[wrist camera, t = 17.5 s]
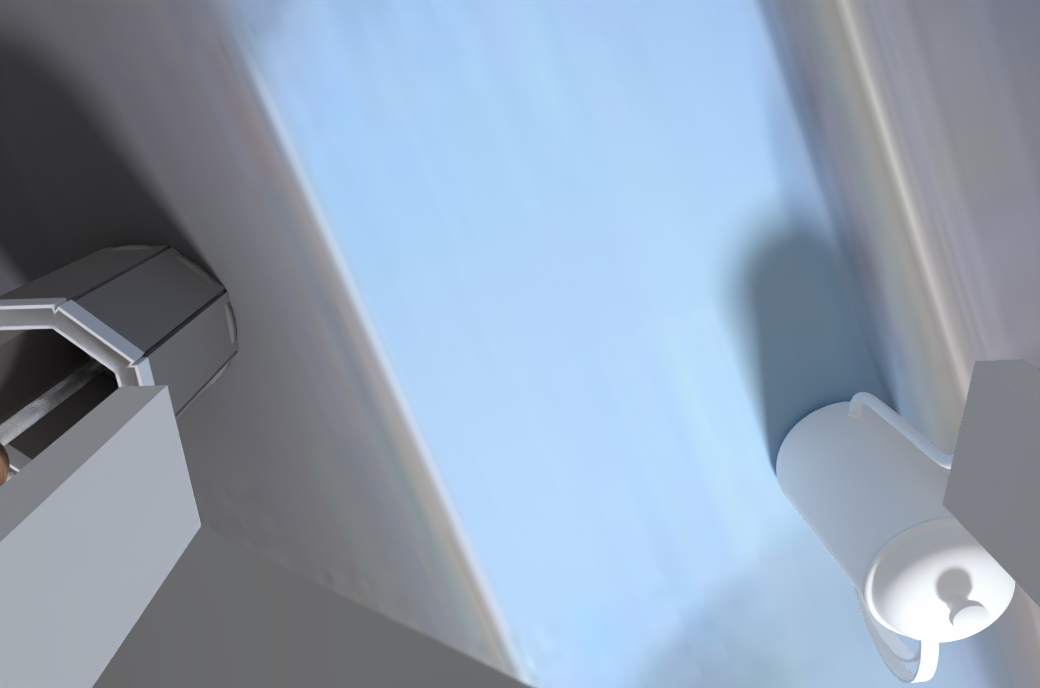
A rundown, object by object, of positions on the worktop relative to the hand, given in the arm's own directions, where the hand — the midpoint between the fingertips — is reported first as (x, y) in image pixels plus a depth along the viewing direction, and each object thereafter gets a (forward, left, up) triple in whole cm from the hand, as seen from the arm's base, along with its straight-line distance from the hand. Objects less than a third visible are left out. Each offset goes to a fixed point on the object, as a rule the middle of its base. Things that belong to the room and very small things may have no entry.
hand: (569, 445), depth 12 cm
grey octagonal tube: (+14, -29, -41) cm, 52 cm away
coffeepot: (+25, +25, -41) cm, 54 cm away
